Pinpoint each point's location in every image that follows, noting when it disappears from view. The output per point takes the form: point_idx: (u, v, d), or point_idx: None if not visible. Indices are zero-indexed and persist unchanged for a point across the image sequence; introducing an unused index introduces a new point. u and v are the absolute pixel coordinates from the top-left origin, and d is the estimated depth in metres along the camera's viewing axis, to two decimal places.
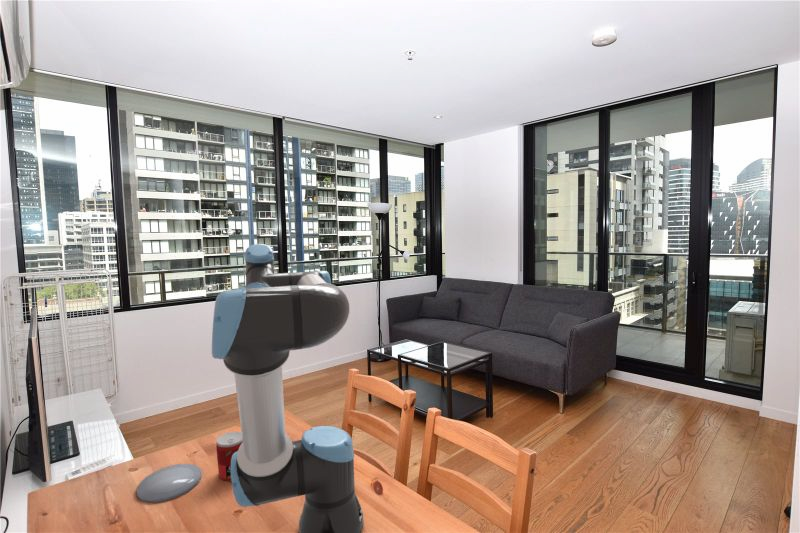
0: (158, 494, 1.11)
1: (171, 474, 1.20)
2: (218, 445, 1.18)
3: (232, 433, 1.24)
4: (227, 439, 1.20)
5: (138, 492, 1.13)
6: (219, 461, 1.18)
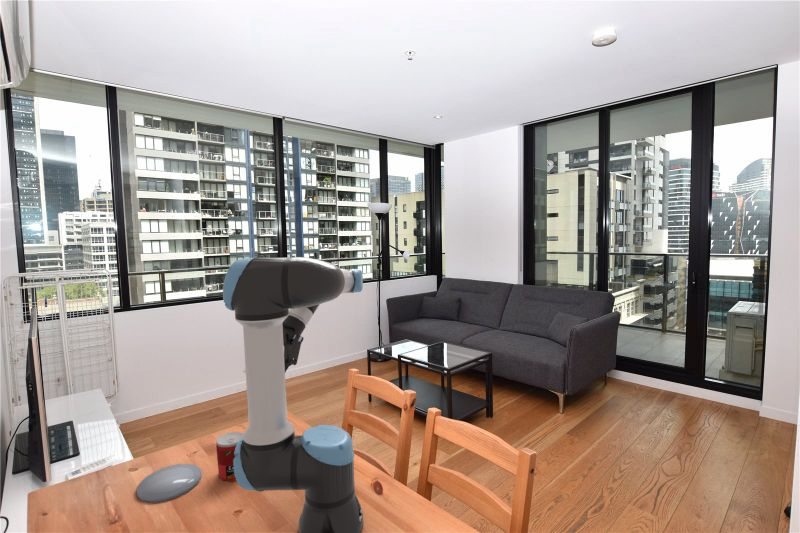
0: (158, 494, 1.11)
1: (171, 474, 1.20)
2: (218, 445, 1.18)
3: (232, 433, 1.24)
4: (227, 439, 1.20)
5: (138, 492, 1.13)
6: (219, 461, 1.18)
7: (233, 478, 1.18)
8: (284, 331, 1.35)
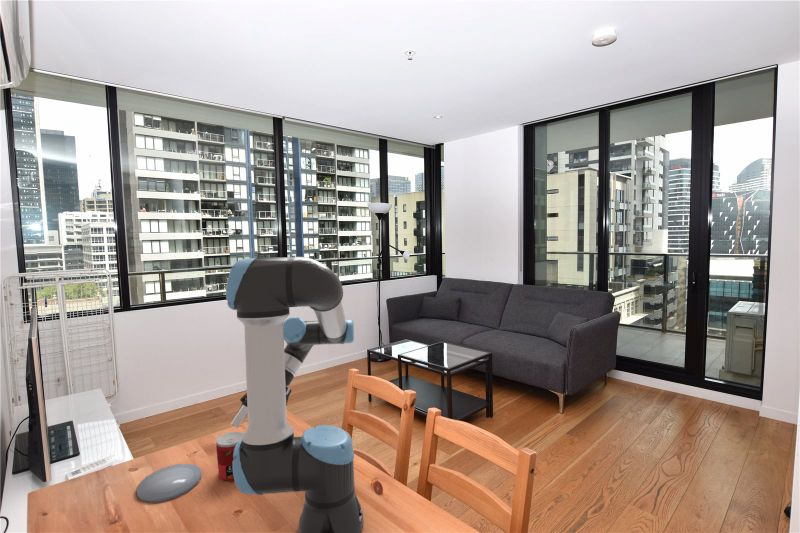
0: (158, 494, 1.11)
1: (171, 474, 1.20)
2: (218, 445, 1.18)
3: (232, 433, 1.24)
4: (227, 439, 1.20)
5: (138, 492, 1.13)
6: (219, 461, 1.18)
7: (233, 478, 1.18)
8: None
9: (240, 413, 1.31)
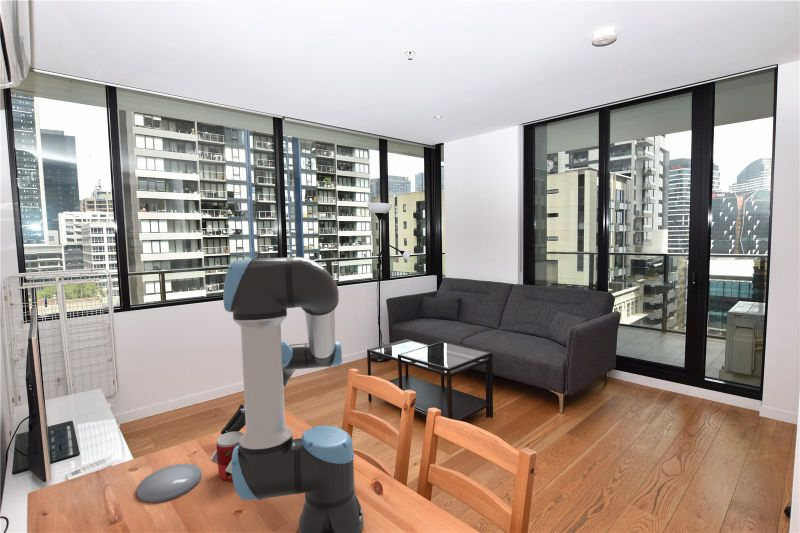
0: (158, 494, 1.11)
1: (171, 474, 1.20)
2: (218, 445, 1.18)
3: (232, 433, 1.24)
4: (227, 439, 1.20)
5: (138, 492, 1.13)
6: (219, 461, 1.18)
7: None
8: None
9: None
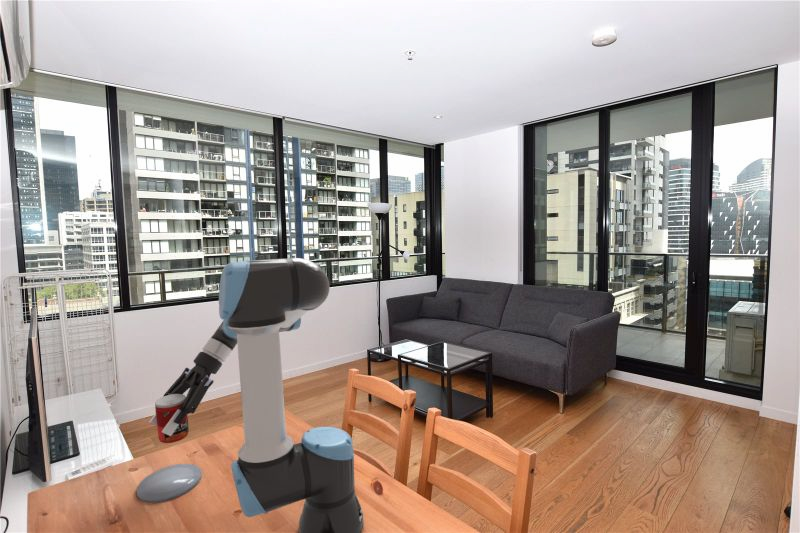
0: (158, 494, 1.11)
1: (171, 474, 1.20)
2: (156, 406, 1.14)
3: (174, 395, 1.20)
4: (167, 400, 1.16)
5: (138, 492, 1.13)
6: (157, 422, 1.14)
7: (172, 440, 1.14)
8: (198, 367, 1.23)
9: None
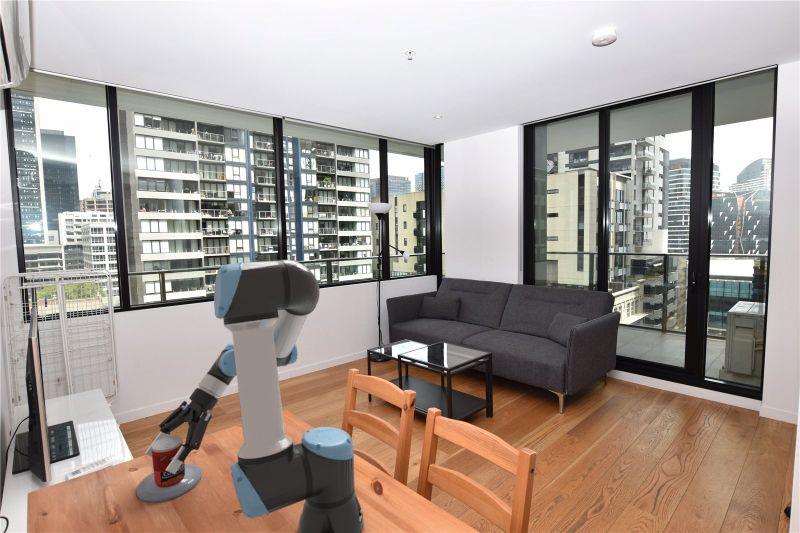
0: (158, 494, 1.11)
1: None
2: (153, 450, 1.14)
3: (170, 437, 1.20)
4: (163, 444, 1.16)
5: (138, 492, 1.13)
6: (154, 467, 1.14)
7: (168, 484, 1.14)
8: (193, 406, 1.23)
9: None
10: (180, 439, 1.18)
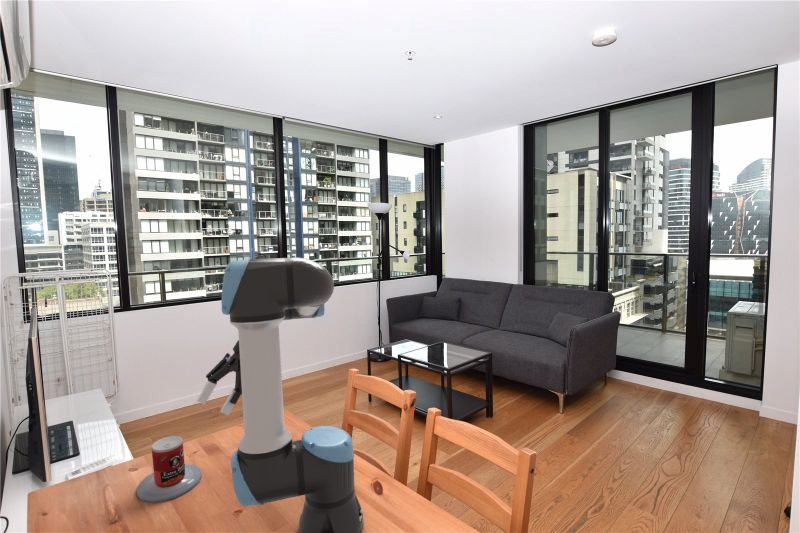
0: (158, 494, 1.11)
1: None
2: (153, 450, 1.14)
3: (170, 438, 1.20)
4: (164, 444, 1.16)
5: (138, 492, 1.13)
6: (154, 467, 1.14)
7: (169, 484, 1.14)
8: (237, 357, 1.31)
9: (206, 389, 1.30)
10: (180, 439, 1.18)
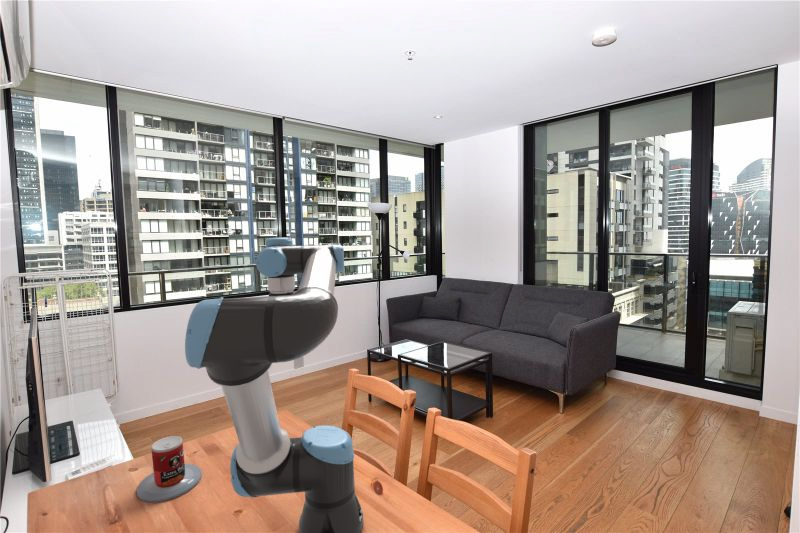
0: (158, 494, 1.11)
1: None
2: (153, 450, 1.14)
3: (170, 438, 1.20)
4: (163, 444, 1.16)
5: (138, 492, 1.13)
6: (154, 467, 1.14)
7: (169, 484, 1.14)
8: None
9: None
10: (180, 439, 1.18)
